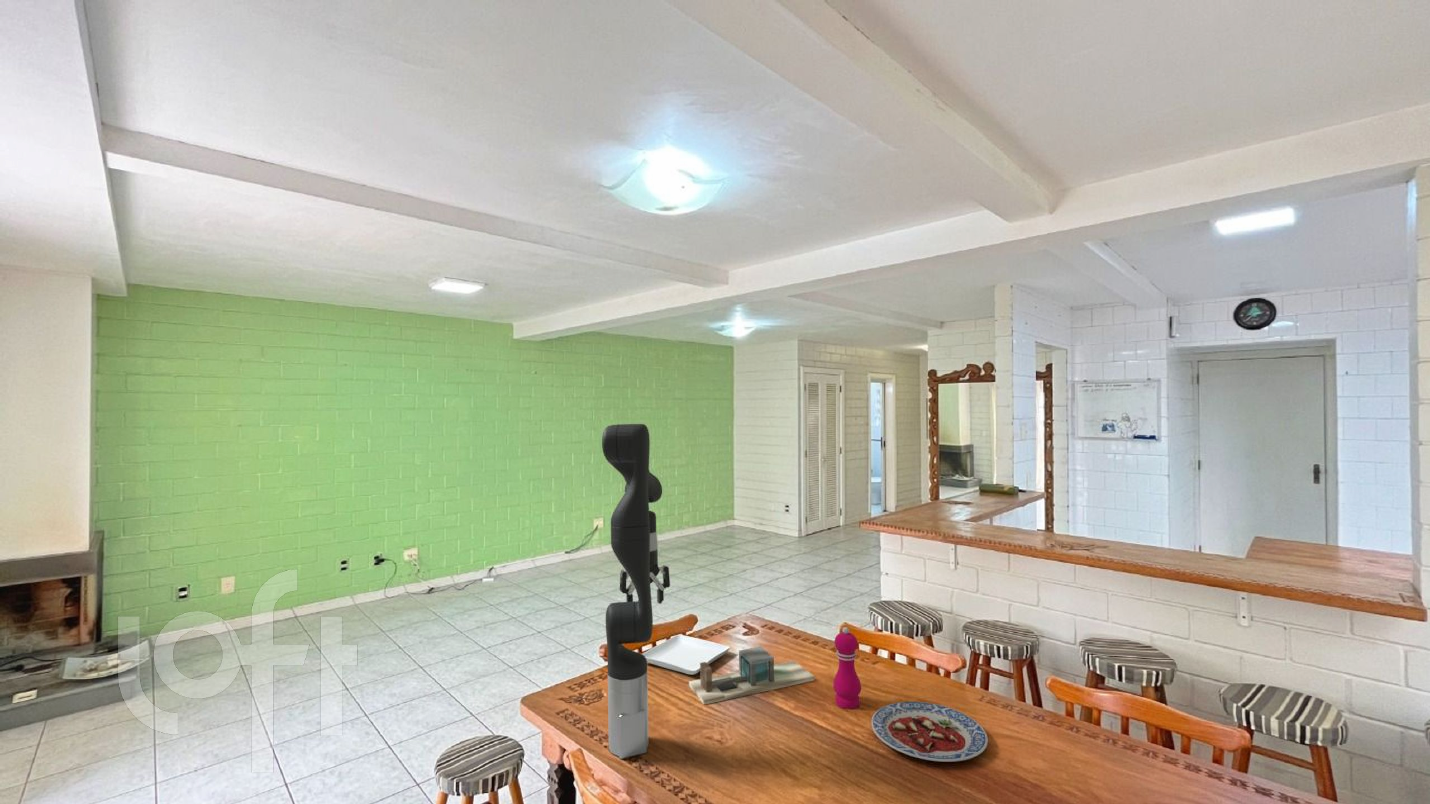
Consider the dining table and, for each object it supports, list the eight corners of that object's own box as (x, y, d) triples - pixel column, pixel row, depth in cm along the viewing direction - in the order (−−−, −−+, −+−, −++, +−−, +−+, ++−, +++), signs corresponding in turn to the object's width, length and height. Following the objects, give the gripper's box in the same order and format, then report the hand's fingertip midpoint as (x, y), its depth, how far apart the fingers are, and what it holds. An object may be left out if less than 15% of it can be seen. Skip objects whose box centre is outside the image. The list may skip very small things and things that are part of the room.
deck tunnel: (814, 680, 168) (813, 652, 168) (703, 704, 155) (703, 674, 156) (793, 664, 179) (792, 638, 179) (689, 685, 166) (688, 657, 167)
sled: (768, 678, 167) (767, 657, 167) (706, 691, 160) (706, 669, 160) (760, 672, 171) (760, 651, 171) (700, 684, 164) (700, 662, 164)
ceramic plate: (912, 780, 122) (912, 765, 122) (852, 719, 147) (851, 707, 147) (1014, 758, 129) (1014, 744, 129) (940, 703, 154) (939, 692, 154)
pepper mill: (859, 697, 158) (857, 622, 158) (863, 710, 151) (861, 632, 151) (832, 696, 158) (830, 622, 159) (835, 709, 151) (833, 632, 152)
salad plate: (732, 655, 187) (731, 645, 188) (695, 682, 169) (694, 670, 170) (678, 643, 199) (678, 633, 199) (638, 666, 181) (638, 655, 181)
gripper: (623, 553, 162) (624, 612, 161) (672, 547, 167) (673, 605, 167) (616, 548, 168) (617, 605, 168) (663, 543, 174) (664, 598, 173)
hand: (645, 605), depth 167 cm, fingers open, 8 cm apart
